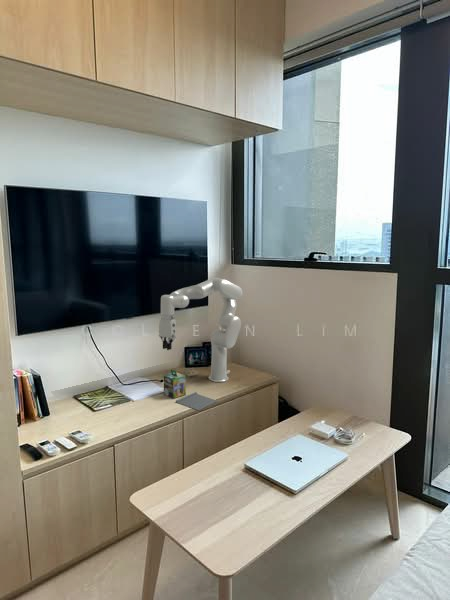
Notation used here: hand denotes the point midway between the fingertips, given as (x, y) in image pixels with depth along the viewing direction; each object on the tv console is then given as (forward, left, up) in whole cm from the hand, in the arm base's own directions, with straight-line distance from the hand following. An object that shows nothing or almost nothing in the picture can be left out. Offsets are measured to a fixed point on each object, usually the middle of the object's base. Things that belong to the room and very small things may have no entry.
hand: (167, 348), depth 227 cm
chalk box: (+1, +7, -25) cm, 26 cm away
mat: (0, +23, -25) cm, 34 cm away
